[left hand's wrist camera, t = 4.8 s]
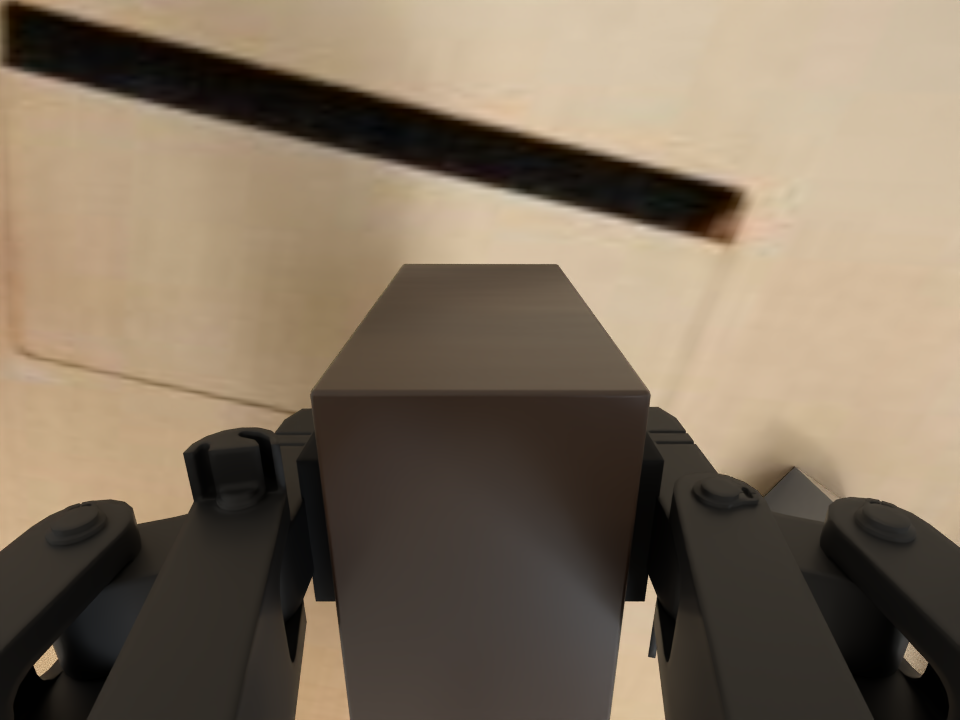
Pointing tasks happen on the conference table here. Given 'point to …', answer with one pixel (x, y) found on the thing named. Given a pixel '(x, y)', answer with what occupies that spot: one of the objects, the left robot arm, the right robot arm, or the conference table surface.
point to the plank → (480, 497)
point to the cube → (800, 497)
